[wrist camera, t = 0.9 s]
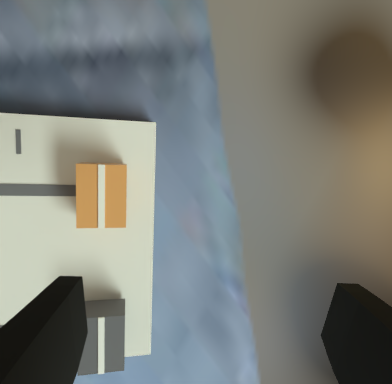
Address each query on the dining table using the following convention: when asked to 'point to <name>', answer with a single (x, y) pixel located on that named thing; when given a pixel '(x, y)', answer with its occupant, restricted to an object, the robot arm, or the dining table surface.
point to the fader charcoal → (104, 337)
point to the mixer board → (66, 215)
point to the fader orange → (101, 195)
